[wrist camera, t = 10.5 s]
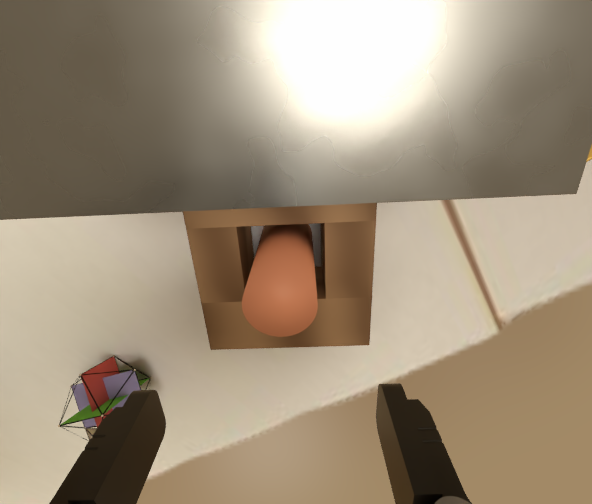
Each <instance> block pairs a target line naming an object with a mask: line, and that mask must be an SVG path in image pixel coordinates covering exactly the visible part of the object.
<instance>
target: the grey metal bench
mask: <svg viewBox="0 0 592 504" xmlns="http://www.w3.org/2000/svg"><path fill="white" fill-rule="evenodd" d="M591 145H592V0H0V220H4V219H26V218H48V217H71V216H93V215H115V214H138V213H160V212H182V211H205V210H227V209H249V208H271V207H294V206H316V205H338V204H361V203H383V202H405V201H428V200H450V199H472V198H494V197H517V196H539V195H561V194H576V193H577V190H578V187H579V184H580V181H581V177H582V174H583V171H584V168H585V164H586V161H587V158H588V155H589V152H590V148H591Z"/></svg>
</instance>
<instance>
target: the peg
mask: <svg viewBox="0 0 592 504" xmlns="http://www.w3.org/2000/svg"><path fill="white" fill-rule="evenodd" d="M242 310H243V313H244V316H245V318H246V319H247V321H248V322H249V323H250V324H251V325H252V326H253V327H254V328H255V329H257V330H258V331H260V332H262V333H264V334H267V335H270V336H276V337H286V336H292V335H295V334H298V333H300V332H302V331H303V330H305V329H306V328H307V327H308V326H309V325H310V324H311V323H312V322H313V320H314V319H315V317H316V314H317V310H318V301H317V289H316V277H315V265H314V253H313V241H312V232H311V228H310V226H309V224H288V225H265V227H264V229H263V232H262V236H261V239H260V242H259V245H258V249H257V252H256V255H255V258H254V262H253V265H252V268H251V271H250V274H249V278H248V281H247V284H246V287H245V291H244V294H243V298H242Z"/></svg>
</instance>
